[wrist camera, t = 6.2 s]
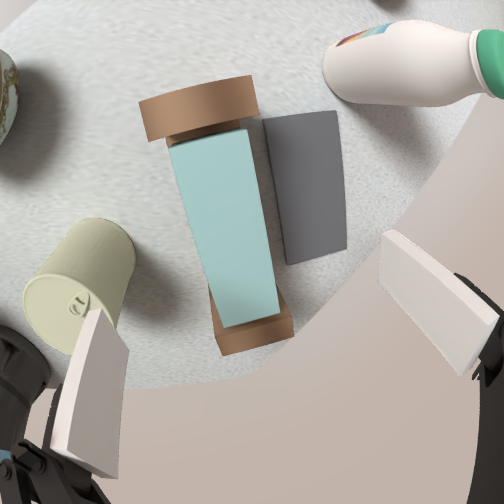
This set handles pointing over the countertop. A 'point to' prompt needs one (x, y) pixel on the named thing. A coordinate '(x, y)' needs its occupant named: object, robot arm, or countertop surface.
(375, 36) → the milk bottle
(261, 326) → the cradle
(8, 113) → the bowl
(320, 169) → the mat
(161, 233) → the countertop surface
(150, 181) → the countertop surface
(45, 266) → the can
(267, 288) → the slab
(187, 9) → the countertop surface
